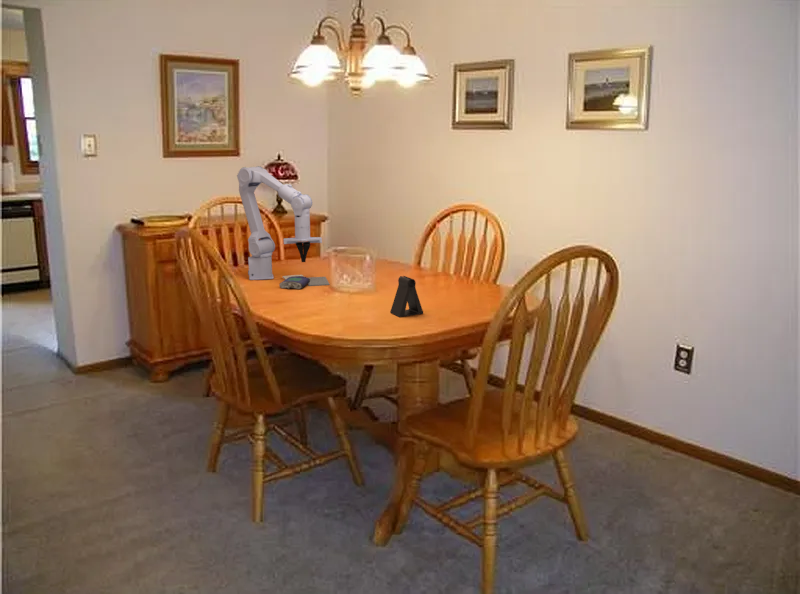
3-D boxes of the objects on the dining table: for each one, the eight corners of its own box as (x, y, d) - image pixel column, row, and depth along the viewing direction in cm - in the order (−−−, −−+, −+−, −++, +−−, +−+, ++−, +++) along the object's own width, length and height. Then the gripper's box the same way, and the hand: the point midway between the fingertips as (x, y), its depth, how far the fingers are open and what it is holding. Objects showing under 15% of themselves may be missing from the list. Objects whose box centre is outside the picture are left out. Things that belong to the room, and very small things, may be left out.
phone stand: (413, 309, 228) (414, 274, 225) (423, 313, 223) (423, 277, 220) (390, 313, 223) (390, 277, 221) (399, 317, 218) (399, 280, 216)
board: (308, 286, 262) (308, 285, 262) (305, 278, 275) (305, 277, 275) (329, 285, 264) (329, 284, 263) (325, 277, 277) (325, 276, 277)
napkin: (285, 280, 272) (285, 279, 272) (282, 277, 277) (282, 276, 277) (305, 278, 275) (305, 277, 275) (301, 275, 280) (301, 274, 280)
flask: (287, 282, 266) (277, 289, 256) (287, 275, 266) (276, 282, 256) (310, 283, 264) (300, 290, 254) (310, 276, 264) (300, 282, 254)
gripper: (283, 228, 257) (285, 264, 260) (322, 227, 260) (323, 262, 263) (282, 226, 263) (284, 261, 267) (320, 225, 267) (321, 259, 270)
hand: (303, 261), depth 265 cm, fingers closed
